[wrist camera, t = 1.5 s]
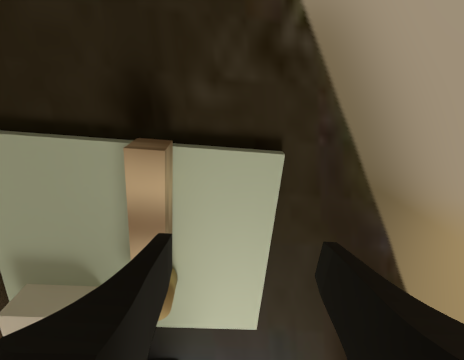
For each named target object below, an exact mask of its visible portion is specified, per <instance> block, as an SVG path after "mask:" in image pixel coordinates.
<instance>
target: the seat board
mask: <svg viewBox="0 0 464 360" xmlns="http://www.w3.org/2000/svg"><path fill="white" fill-rule="evenodd" d="M132 141H134V140H123V139H109V138H95V137H82V136H68V135H55V134H41V133H28V132H14V131H1V130H0V271H1V275H2V278H3V281H4V285H5V288H6V292H7V295H8V299H9V302H10V301H11V300H12V299H13V298H14V297H15V296H16V295H17V294H18V293H19V292H20V290H21V289H22V288H23V287H24V286H25V285H26V284H45V285H71V286H98V287H99V286H100V285H101V284H103V283H104V282H106V281H107V280H108V279H110V278H111V277H112V276H113V275H115V274H116V273H117V272H118V271H119V270H121V269H122V268H123V267H124V266H125V265H126V264H128V263H129V262H130V261H131V257H130V242H129V227H128V212H127V196H126V181H125V166H124V151H123V148H124V147H125V146H127V145H128V144H130V143H131V142H132ZM284 157H285V154H284V153H283V152H282V151H271V150H258V149H244V148H231V147H217V146H204V145H190V144H177V143H173V191H172V268H173V269H174V270H175V271H176V273H177V277H178V280H177V285H176V289H175V294H174V299H173V303H172V308H171V311H170V313H169V315H168V316H167V317H165V318H164V319H162V320H160V321H158V323H157V326H156V327H179V328H215V329H250V330H256V329H257V322H258V316H259V310H260V304H261V298H262V292H263V286H264V280H265V273H266V267H267V261H268V255H269V249H270V243H271V237H272V231H273V224H274V218H275V212H276V206H277V200H278V194H279V188H280V182H281V175H282V169H283V163H284Z"/></svg>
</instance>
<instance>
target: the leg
mask: <svg viewBox="0 0 464 360" xmlns="http://www.w3.org/2000/svg"><path fill="white" fill-rule="evenodd" d="M123 151H124V166H125V181H126V196H127V212H128V227H129V242H130V257H131V260H132V259H133V258H134V257H135V256H136V255H137V254H138V253H139V252H140V251H141V250H142V249H143V248H144V247H145V246H146V245H147V244H148V243H149V242H150V241H151V240H152V239H153V238H154V237H155V236H156V235H157V234H158V233H170V234H172V191H173V141H171V140H158V139H145V138H137V139H135V140H134V141H132V142H131V143H130V144H128V145H127V146H125V147H124V148H123ZM177 280H178V277H177V273H176V271H175V270H174V269H173V268H172V273H171V278H170V283H169V288H168V292H167V295H166V298H165V301H164V304H163V307H162V310H161V313H160V316H159V320H158V321H160V320H162V319H164V318H165V317H167V316H168V315H169V313H170V311H171V308H172V303H173V299H174V294H175V289H176V285H177Z"/></svg>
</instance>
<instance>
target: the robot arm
mask: <svg viewBox="0 0 464 360" xmlns="http://www.w3.org/2000/svg"><path fill="white" fill-rule="evenodd" d="M171 273H172V234H170V233H158V234H157V235H156V236H155V237H154V238H153V239H152V240H151V241H150V242H149V243H148V244H147V245H146V246H145V247H144V248H143V249H142V250H141V251H140V252H139V253H138V254H137V255H136V256H135V257H134V258H133V259H132V260H131V261H130V262H129V263H128V264H126V265H125V266H124V267H123V268H122V269H121V270H119V271H118V272H117V273H116V274H115V275H113V276H112V277H111V278H110V279H108V280H107V281H106V282H104V283H103V284H101V285H100V286H99V287H97V288H96V289H94V290H93V291H91V292H89V293H88V294H86V295H85V296H83V297H81V298H80V299H78V300H76V301H75V302H73V303H71V304H70V305H68V306H66V307H64V308H62V309H61V310H59V311H57V312H55V313H53V314H51V315H49V316H47V317H45V318H43V319H41V320H39V321H37V322H35V323H33V324H31V325H28V326H26V327H24V328H22V329H19V330H17V331H15V332H13V333H11V334H8V335H6V336H3V337H2V338H1V339H0V360H147V358H148V354H149V349H150V345H151V342H152V338H153V335H154V332H155V329H156V326H157V323H158V320H159V316H160V313H161V310H162V307H163V304H164V301H165V298H166V295H167V292H168V288H169V283H170V278H171ZM315 278H316V282H317V285H318V289H319V292H320V295H321V298H322V300H323V302H324V305H325V307H326V309H327V312H328V314H329V316H330V318H331V321H332V323H333V325H334V327H335V330H336V332H337V334H338V336H339V339H340V341H341V343H342V346H343V348H344V351H345V353H346V356H347V359H348V360H464V324H463V323H461V322H459V321H457V320H455V319H453V318H451V317H449V316H447V315H445V314H443V313H441V312H439V311H437V310H435V309H434V308H432V307H430V306H428V305H426V304H424V303H423V302H421V301H419V300H418V299H416V298H414V297H413V296H411V295H409V294H408V293H406V292H404V291H403V290H401V289H400V288H398V287H397V286H395V285H394V284H392V283H391V282H389V281H388V280H386V279H385V278H383V277H382V276H381V275H379V274H378V273H376V272H375V271H374V270H372V269H371V268H370V267H368V266H367V265H366V264H364V263H363V262H362V261H360V260H359V259H358V258H357V257H355V256H354V255H353V254H351V253H350V252H349V251H347V250H346V249H345V248H343V247H342V246H341V245H339V244H338V243H336V242H323V246H322V250H321V253H320V257H319V261H318V265H317V269H316V273H315Z"/></svg>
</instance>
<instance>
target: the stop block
mask: <svg viewBox="0 0 464 360" xmlns="http://www.w3.org/2000/svg"><path fill="white" fill-rule="evenodd" d="M97 287H98V286H71V285H45V284H26V285H25V286H24V287H23V288H22V289H21V290H20V292H19V293H18V294H17V295H16V296H15V297H14V298H13V299H12V300H11V301H10V302H9V303H8V304H7V305H6V306H5V307H4V308H3V310H2V311H1V312H0V329H1V332H2V335H3V336H6V335H8V334H11V333H13V332H15V331H17V330H19V329H22V328H24V327H26V326H28V325H31V324H33V323H35V322H37V321H39V320H41V319H43V318H45V317H47V316H49V315H51V314H53V313H55V312H57V311H59V310H61V309H62V308H64V307H66V306H68V305H70V304H71V303H73V302H75V301H76V300H78V299H80V298H81V297H83V296H85V295H86V294H88V293H89V292H91V291H93V290H94V289H96V288H97Z"/></svg>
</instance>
